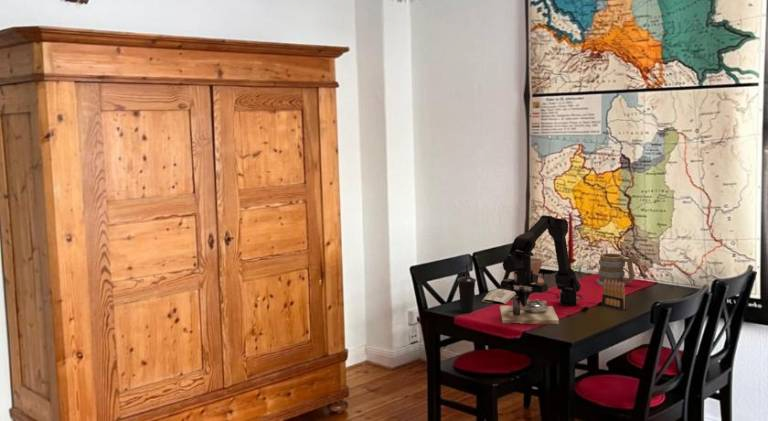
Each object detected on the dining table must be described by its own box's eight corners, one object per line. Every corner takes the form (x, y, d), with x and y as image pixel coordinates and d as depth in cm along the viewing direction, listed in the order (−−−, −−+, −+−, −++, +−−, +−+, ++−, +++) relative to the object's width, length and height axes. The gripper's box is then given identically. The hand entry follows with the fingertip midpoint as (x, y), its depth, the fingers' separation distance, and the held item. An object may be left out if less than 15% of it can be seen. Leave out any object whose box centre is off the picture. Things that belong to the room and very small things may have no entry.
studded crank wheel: (534, 306, 334) (534, 289, 333) (550, 310, 327) (551, 293, 326) (505, 313, 324) (505, 295, 323) (521, 317, 317) (522, 300, 316)
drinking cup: (464, 314, 329) (464, 267, 327) (454, 310, 336) (454, 263, 333) (479, 312, 333) (479, 265, 330) (469, 308, 340) (469, 262, 337)
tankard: (592, 284, 380) (593, 253, 378) (606, 279, 389) (607, 249, 387) (630, 291, 366) (631, 258, 363) (644, 286, 374) (645, 255, 372)
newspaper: (490, 292, 369) (491, 287, 369) (516, 297, 365) (517, 291, 364) (477, 303, 349) (477, 297, 348) (504, 308, 344) (504, 303, 344)
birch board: (552, 309, 335) (552, 305, 335) (558, 324, 313) (559, 319, 313) (499, 309, 337) (499, 305, 337) (502, 323, 315) (502, 319, 315)
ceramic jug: (529, 283, 383) (529, 254, 381) (552, 288, 372) (552, 259, 370) (502, 289, 373) (502, 259, 371) (525, 294, 361) (525, 264, 359)
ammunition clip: (625, 309, 333) (626, 281, 331) (623, 310, 332) (624, 282, 330) (604, 305, 341) (604, 277, 340) (601, 305, 340) (602, 278, 338)
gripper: (554, 267, 317) (554, 305, 319) (513, 262, 329) (513, 299, 331) (540, 272, 308) (541, 311, 310) (499, 267, 320) (499, 305, 322)
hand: (524, 306), depth 319 cm, fingers closed
